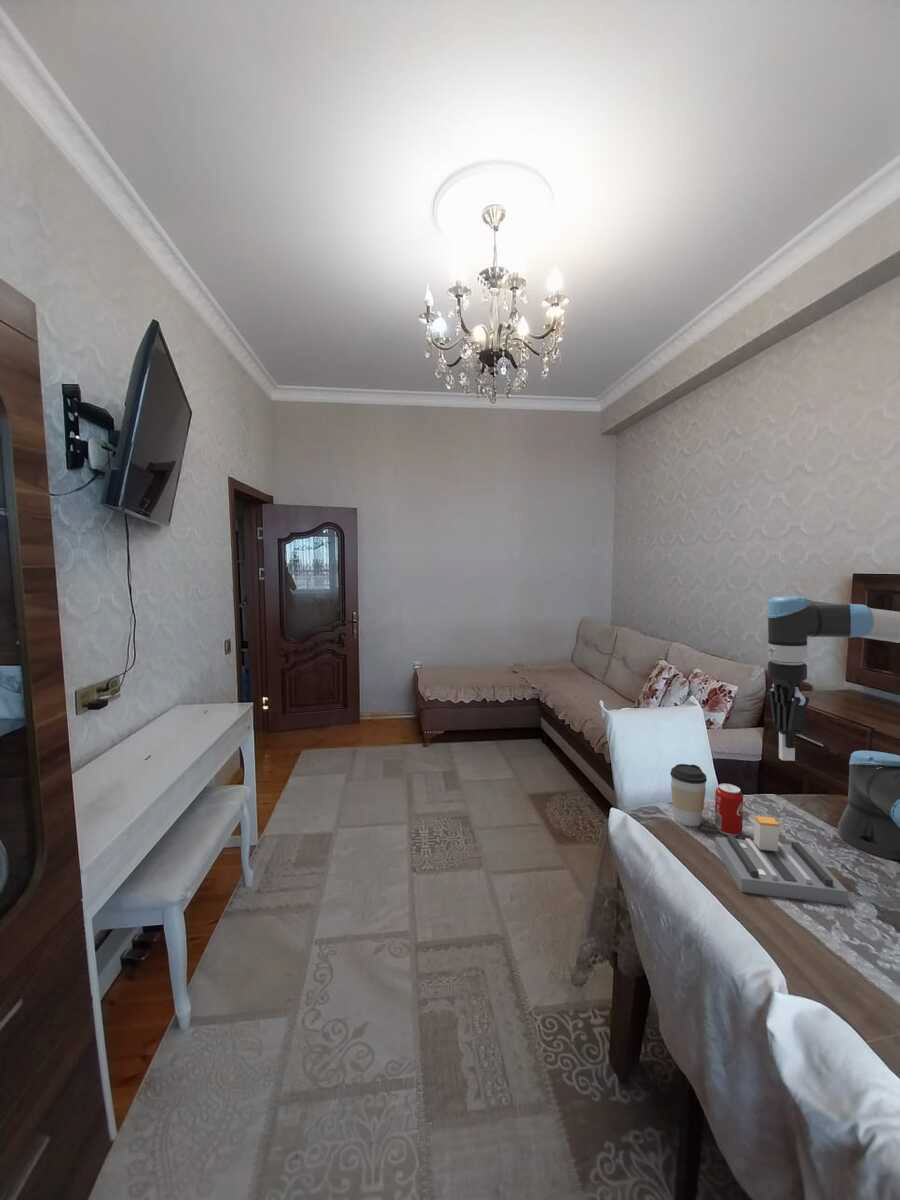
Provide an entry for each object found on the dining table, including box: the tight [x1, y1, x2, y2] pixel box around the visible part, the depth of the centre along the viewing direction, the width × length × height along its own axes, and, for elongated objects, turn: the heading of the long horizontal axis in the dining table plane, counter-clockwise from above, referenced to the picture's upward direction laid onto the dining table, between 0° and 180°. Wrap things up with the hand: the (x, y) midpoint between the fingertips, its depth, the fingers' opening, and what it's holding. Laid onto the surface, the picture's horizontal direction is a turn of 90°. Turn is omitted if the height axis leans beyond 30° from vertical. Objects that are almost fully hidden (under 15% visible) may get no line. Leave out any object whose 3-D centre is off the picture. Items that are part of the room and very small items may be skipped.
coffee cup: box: [669, 763, 708, 827], centre depth 129 cm, size 9×9×15 cm
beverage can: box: [714, 783, 744, 837], centre depth 123 cm, size 6×6×12 cm
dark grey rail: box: [726, 835, 759, 878], centre depth 107 cm, size 2×14×4 cm, turn 168°
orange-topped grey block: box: [753, 815, 780, 851], centre depth 110 cm, size 4×3×7 cm
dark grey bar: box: [790, 841, 833, 887], centre depth 104 cm, size 2×14×4 cm, turn 168°
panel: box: [714, 836, 849, 906], centre depth 106 cm, size 20×16×4 cm
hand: (786, 759), depth 110 cm, fingers closed
